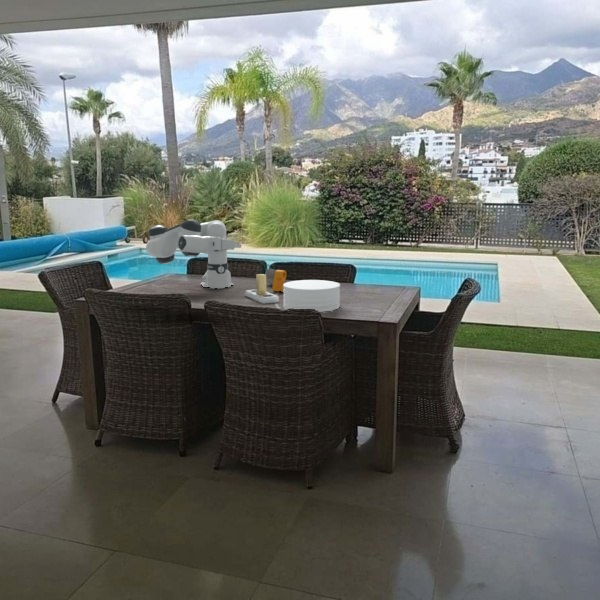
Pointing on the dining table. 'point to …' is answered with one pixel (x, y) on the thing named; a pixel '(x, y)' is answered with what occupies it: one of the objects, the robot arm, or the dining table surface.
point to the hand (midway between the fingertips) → (237, 247)
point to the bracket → (279, 280)
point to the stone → (270, 276)
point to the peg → (260, 284)
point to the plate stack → (311, 295)
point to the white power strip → (262, 297)
